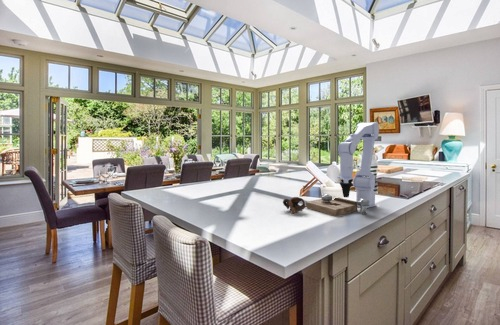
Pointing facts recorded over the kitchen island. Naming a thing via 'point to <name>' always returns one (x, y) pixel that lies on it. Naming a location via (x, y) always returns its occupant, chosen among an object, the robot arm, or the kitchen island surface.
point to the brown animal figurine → (294, 204)
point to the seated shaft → (326, 198)
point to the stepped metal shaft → (363, 205)
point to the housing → (333, 206)
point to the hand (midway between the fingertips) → (346, 195)
